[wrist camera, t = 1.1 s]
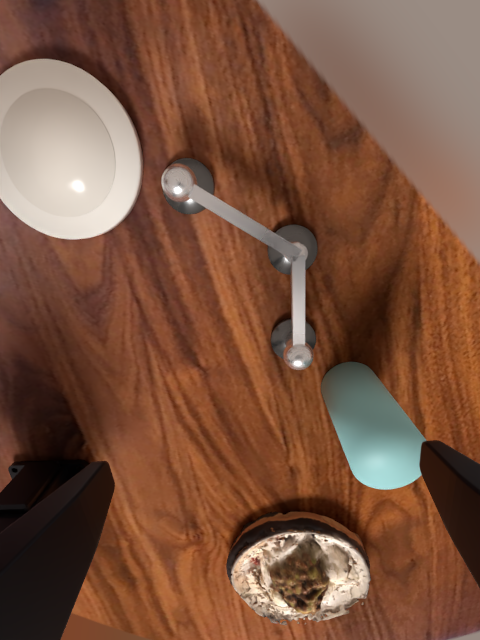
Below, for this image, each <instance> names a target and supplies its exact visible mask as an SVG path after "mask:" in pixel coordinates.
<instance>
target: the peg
mask: <svg viewBox="0 0 480 640" xmlns="http://www.w3.org/2000/svg"><path fill="white" fill-rule="evenodd" d="M321 393H322V396H323V399H324V401H325V404H326V406H327V409H328V411H329V414H330V416H331V419H332V421H333V424H334V427H335V429H336V432H337V434H338V437H339V439H340V442H341V444H342V447H343V450H344V452H345V455H346V457H347V460H348V462H349V465H350V467H351V470H352V472H353V474H354V476H355V477H356V478H357V479H358V480H359V481H360V482H362V483H363V484H365V485H367V486H369V487H372V488H376V489H395V488H399V487H403V486H405V485H408V484H410V483H411V482H413V481H415V480H416V479H417V478H419V477H420V476H421V475H422V474H421V471H420V466H419V462H420V452H421V444H422V442H424V441H426V439H425V438H424V437H423V436H422V434H421V433H420V432H419V430H418V429H417V428H416V426H415V425H414V424H413V423H412V421H411V420H410V419H409V417H408V416H407V415H406V414H405V412H404V411H403V410H402V408H401V407H400V406H399V404H398V403H397V402H396V401H395V399H394V398H393V397H392V395H391V394H390V393H389V392H388V390H387V389H386V388H385V386H384V385H383V384H382V382H381V381H380V380H379V379H378V377H377V376H376V375H375V373H374V372H373V371H372V370H371V369H370V368H369V367H368V366H366V365H364V364H362V363H358V362H345V363H341V364H338V365H336V366H334V367H333V368H331V369H330V370H329V371H328V372H327V373H326V375H325V376H324V378H323V380H322V383H321Z"/></svg>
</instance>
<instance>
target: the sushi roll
mask: <svg viewBox="0 0 480 640" xmlns="http://www.w3.org/2000/svg"><path fill="white" fill-rule="evenodd" d="M226 567H227V574H228V577H229V580H230V582H231V584H232V585H233V587H234V589H235V590H236V591H237V592H238V594H239V595H240V596H241V598H243V600H245V602H246V603H247V604H248V605H249V606H250V607H251V608H252V609H253V610H254V611H255V612H256V613H257V614H258V615H260V616H263V617H268V618H269V619H270V620H271V622H272V623H277V622H276V621H278V622H279V624H283V625H287V623H286V621H284V619H286V620H289V621H292V620H294V619H295V620H298V619H299V618H303V617H308V619H309V620H311V619H313V621H316V622H319V621H320V620H327V619H331V618H334V617H337V616H340V615H343V614H348V613H349V610H347V611H345V610H346V609H347V608H349V607H351V606H352V605H353V604H354V603H356V602H358V601H359V600H358V599H357V598H360V599H361V598H363V599H365V598H366V597H367V594H368V588H369V585H370V584H369V581H370V580H371V577H370V571H369V570H370V564H369V559H368V556H367V554H366V552H365V550H364V548H363V544H362V540H361V539H360V538H359V536H358V534H355V533H352V532H351V531H349V530H348V529H347V528H345V527H344V526H343V525H341V524H340V523H338V522H336V521H335V520H333V519H331V518H329V517H326V516H321V515H318V514H315V513H310V512H297V511H296V512H289V513H288V514H285V515H283V513H278V512H270V513H268V514H265V515H262V516H260V517H259V518H258V520H255V521H253V522H249V523H247V524H246V525H244V527H243V529H242V530H241V533H240V534H239V535H238V536H237V537H236V539H235V541H234V542H233V544H232V547H231V550H230V553H229V556H228V559H227V566H226ZM237 592H236V593H237ZM363 604H364V603H362V605H363ZM334 613H336V614H334ZM325 614H327V615H328V616H327V617H325ZM321 616H323V617H321ZM272 619H273V620H272ZM281 619H283V622H282V623H280V620H281ZM303 619H304V620H305V618H303ZM297 623H298V624H300V623H299V622H297ZM305 624H306V623H305Z"/></svg>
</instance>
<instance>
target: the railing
mask: <svg viewBox="0 0 480 640" xmlns="http://www.w3.org/2000/svg"><path fill="white" fill-rule="evenodd" d="M161 183H162V188H163V193H164V196H165V198H166V200H167V202H168V203H169V204H170V205H171V206H172V207H173V208H174V209H175V210H177V211H178V212H181V213H184V214H196V213H199V212H201V211H203V210H204V209H205V208H207V209H209V210H210V211H212V212H214V213H215V214H217V215H219V216H220V217H222V218H224V219H225V220H227V221H229V222H230V223H232V224H234V225H235V226H237V227H239V228H240V229H242V230H244V231H245V232H247V233H249V234H250V235H252V236H254V237H255V238H257V239H259V240H260V241H262V242H263V243H265V244H267V245H268V256H269V259H270V262H271V264H272V265H273V266H274V267H275V268H276V269H277V270H278V271H280V272H282V273H284V274H289V275H291V318H288V319H285V320H282V321H281V322H279V323H278V324H277V325H276V326H275V327H274V329H273V331H272V334H271V344H272V348H273V350H274V352H275V353H276V354H277V355H278V356H279V357H281V358H283V359H284V361H285V363H286V364H287V365H288V366H289V367H290V368H292V369H295V370H303V369H305V368H307V367H308V366H309V365H310V364H311V363H312V361H313V348H314V346H315V343H316V336H315V332H314V330H313V328H312V327H311V325H310V324H309V323H308V322H306V321H305V270H306V269H308V268H309V267H310V266H311V265H312V263H313V262H314V260H315V258H316V254H317V242H316V239H315V237H314V235H313V234H312V233H311V232H310V231H309V230H308V229H307V228H305V227H303V226H300V225H286V226H283V227H281V228H280V229H278V230H277V231H276V232H275V233H274V232H272V231H271V230H269V229H267V228H266V227H264V226H263V225H261V224H259V223H258V222H256V221H254V220H253V219H251V218H249V217H248V216H246V215H245V214H243V213H241V212H240V211H238V210H236V209H235V208H233V207H231V206H230V205H228V204H227V203H225V202H223V201H222V200H220V199H218V198H217V197H215V196H213V195H214V181H213V177H212V175H211V173H210V171H209V170H208V169H207V168H206V167H205V166H204V165H203V164H202V163H201V162H199V161H197V160H195V159H191V158H182V159H179V160H176V161H175V162H173V163H172V164H171V165H170V166H169V167H167V168H166V169H165V171H164V172H163V175H162V179H161Z"/></svg>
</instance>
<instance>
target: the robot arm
mask: <svg viewBox="0 0 480 640" xmlns="http://www.w3.org/2000/svg"><path fill="white" fill-rule="evenodd" d="M80 466H81V467H80ZM419 466H420V471H421V474H422V476H423V479H424V481H425V483H426V485H427V487H428V490H429V492H430V494H431V496H432V499H433V501H434V503H435V505H436V507H437V510H438V512H439V514H440V516H441V518H442V521H443V523H444V525H445V527H446V529H447V531H448V533H449V535H450V537H451V539H452V540H453V542H454V544H455V546H456V547H457V549H458V551H459V553H460V555H461V556H462V558H463V560H464V562H465V563H466V565H467V567H468V569H469V570H470V572H471V574H472V576H473V577H474V579H475V581H476V583H477V584H478V586H479V588H480V464H478V463H477V462H475V461H473V460H472V459H470V458H468V457H467V456H465V455H463V454H461V453H460V452H458V451H456V450H455V449H453V448H451V447H449V446H448V445H446V444H444V443H443V442H441V441H438V440H433V441H424V442H422V444H421V452H420V462H419ZM9 473H10V475H11V478H12V480H11V482H10V483H9V484H8V485H7V486H6V487H5V488H4V489H3V490H2V492H1V493H0V640H60V639H61V637H62V634H63V631H64V629H65V627H66V624H67V622H68V619H69V617H70V614H71V612H72V609H73V607H74V604H75V602H76V599H77V597H78V594H79V592H80V589H81V587H82V584H83V582H84V579H85V577H86V574H87V572H88V569H89V567H90V564H91V562H92V559H93V556H94V554H95V551H96V548H97V546H98V543H99V539H100V536H101V533H102V530H103V526H104V523H105V519H106V516H107V513H108V509H109V506H110V503H111V499H112V496H113V492H114V487H115V483H114V479H113V476H112V473H111V469H110V466H109V463H108V462H107V461H95V462H92V463H90V464H89V465H88V463H87V462H86V461H84V460H66V461H29V462H14V463H13V464H12V465H11V466H10V467H9Z"/></svg>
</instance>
